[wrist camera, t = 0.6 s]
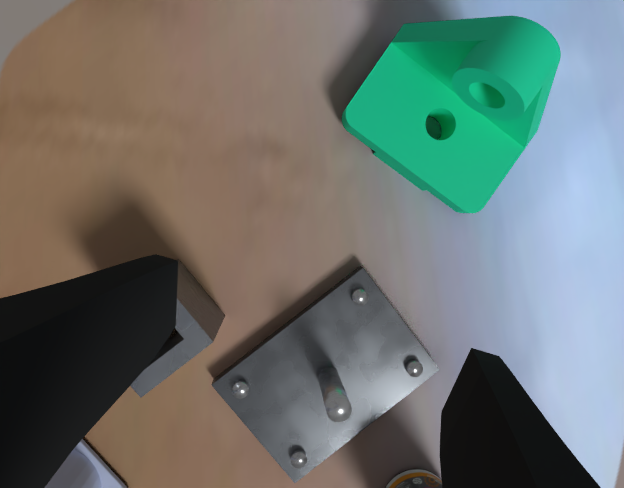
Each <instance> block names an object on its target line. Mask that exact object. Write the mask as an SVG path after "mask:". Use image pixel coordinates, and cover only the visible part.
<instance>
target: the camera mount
mask: <svg viewBox="0 0 624 488" xmlns="http://www.w3.org/2000/svg"><path fill="white" fill-rule="evenodd" d="M560 56H561V53H560V48H559V45H558V43H557V41H556V39H555V38H554V37H553V35H552V34H551V33H550V32H549V31H548V30H547V29H545V28H544V27H543V26H541V25H539V24H538V23H536V22H534V21H532V20H529V19H526V18H523V17H518V16H501V17H488V18H474V19H461V20H447V21H434V22H420V23H407V24H404V25H403V26H402V27H401V29H400V30H399V32H398V33H397V35H396V36H395V37H394V39H393V40H392V42H391V43H390V45H389V46H388V48H387V49H386V51H385V52H384V53H383V55H382V56H381V58H380V59H379V61H378V62H377V64H376V65H375V66H374V68H373V69H372V71H371V72H370V74H369V75H368V77H367V78H366V80H365V81H364V82H363V84H362V85H361V87H360V88H359V90H358V91H357V93H356V94H355V95H354V97H353V98H352V100H351V101H350V103H349V104H348V106H347V107H346V108H345V110H344V112H343V114H342V123H343V126H344V128H345V129H346V130H347V131H348V132H349V133H351V134H352V135H353V136H355V137H356V138H357V139H359V140H360V141H361V142H363V143H364V144H365V145H367V146H368V147H370V148H371V149H372V150H374V151H375V152H374V155H375V156H376V157H378V158H379V159H380V160H382V161H383V162H384V163H386V164H387V165H388V166H390V167H391V168H392V169H394V170H395V171H397V172H398V173H399V174H401V175H402V176H403V177H405V178H406V179H407V180H409V181H410V182H411V183H413V184H414V185H415V186H417V187H418V188H419V189H421V190H422V191H424V190H427V191H429V192H430V193H431V194H433V195H434V196H436V197H437V198H438V199H440V200H441V201H442V202H444V203H445V204H446V205H448V206H449V207H450V208H452V209H453V210H454V211H456V212H459V213H476V212H478V211H480V210H481V209H483V207H484V206H485V205H486V203H487V202H488V200H489V199H490V197H491V196H492V195H493V193H494V192H495V190H496V189H497V188H498V186H499V185H500V183H501V182H502V180H503V179H504V178H505V176H506V175H507V173H508V172H509V170H510V169H511V168H512V166H513V165H514V163H515V162H516V160H517V159H518V158H519V156H520V155H521V153H522V152H523V150H524V149H525V148H526V146H527V145H528V143H529V142H530V140H531V139H532V138H533V136H534V135H535V133H536V132H537V130H538V127H539V124H540V121H541V118H542V115H543V111H544V108H545V105H546V102H547V99H548V96H549V92H550V89H551V86H552V83H553V80H554V77H555V73H556V70H557V67H558V64H559V61H560ZM427 116H430V117H433V118H435V119H436V120H437V121H438V122H439V123H440V126H441V136H440V138H439V140H436V139H434V138H432V137H431V136H430V135H429V134H428V132H427V130H426V125H425V124H426V119H427Z"/></svg>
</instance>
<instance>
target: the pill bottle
mask: <svg viewBox="0 0 624 488" xmlns="http://www.w3.org/2000/svg"><path fill="white" fill-rule="evenodd" d="M386 488H442V480H441V479H440V478H439V477H437V476H436V475H435V474H433V473H431V472H429V471H426V470H419V469H415V470H408V471H405V472H403V473H400V474H399V475H397V476H396V477H394V478H393V479H392V480H391V481H390V482H389V483H388V485H387V486H386Z"/></svg>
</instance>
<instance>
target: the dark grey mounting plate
mask: <svg viewBox="0 0 624 488" xmlns="http://www.w3.org/2000/svg"><path fill="white" fill-rule="evenodd" d="M437 371H439V368H438V367H437V366H436V364H435V363H434V362H433V360H432V359H431V358H430V356H429V355H428V354H427V352H426V351H425V350H424V348H423V347H422V346H421V344H420V343H419V342H418V340H417V339H416V338H415V336H414V335H413V334H412V332H411V331H410V330H409V328H408V327H407V326H406V324H405V323H404V322H403V320H402V319H401V318H400V316H399V315H398V314H397V312H396V311H395V310H394V308H393V307H392V306H391V304H390V303H389V302H388V300H387V299H386V298H385V296H384V295H383V294H382V292H381V291H380V290H379V288H378V287H377V286H376V284H375V283H374V282H373V280H372V279H371V278H370V276H369V275H368V274H367V272H366V271H365V270H364V268H363V267H361V266H360V267H358V268H357V269H356V270H355V271H353V272H352V273H351V274H349V275H348V276H347V277H345V278H344V279H343V280H342V281H340V282H339V283H338V284H336V285H335V286H334V287H333V288H331V289H330V290H329V291H327V292H326V293H325V294H323V295H322V296H321V297H320V298H318V299H317V300H316V301H314V302H313V303H312V304H311V305H309V306H308V307H307V308H305V309H304V310H303V311H301V312H300V313H299V314H298V315H296V316H295V317H294V318H292V319H291V320H290V321H289V322H287V323H286V324H285V325H283V326H282V327H281V328H279V329H278V330H277V331H276V332H274V333H273V334H272V335H270V336H269V337H268V338H267V339H265V340H264V341H263V342H261V343H260V344H259V345H257V346H256V347H255V348H254V349H252V350H251V351H250V352H248V353H247V354H246V355H244V356H243V357H242V358H241V359H239V360H238V361H237V362H235V363H234V364H233V365H232V366H230V367H229V368H228V369H226V370H225V371H224V372H222V373H221V374H220V375H219V376H217V377H216V378H215V379H214V380H213V382H212V386H213V387H214V389H215V390H216V391H217V392H218V393H219V394H220V396H221V397H222V398H223V399H224V400H225V402H226V403H227V404H228V405H229V406H230V407H231V409H232V410H233V411H234V412H235V413H236V414H237V416H238V417H239V418H240V419H241V420H242V422H243V423H244V424H245V425H246V426H247V427H248V429H249V430H250V431H251V432H252V433H253V434H254V436H255V437H256V438H257V439H258V440H259V442H260V443H261V444H262V445H263V446H264V447H265V449H266V450H267V451H268V452H269V453H270V454H271V456H272V457H273V458H274V459H275V460H276V462H277V463H278V464H279V465H280V466H281V467H282V469H283V470H284V471H285V472H286V473H287V474H288V476H289V477H290V478H291V479H292V480H293V482H294V483H296V482H297V481H298V480H299V479H301V478H302V477H303V476H305V475H306V474H307V473H308V472H310V471H311V470H312V469H314V468H315V467H316V466H317V465H319V464H320V463H321V462H322V461H324V460H325V459H326V458H328V457H329V456H330V455H331V454H333V453H334V452H335V451H336V450H338V449H339V448H340V447H342V446H343V445H344V444H345V443H347V442H348V441H349V440H351V439H352V438H353V437H354V436H356V435H357V434H358V433H359V432H361V431H362V430H363V429H365V428H366V427H367V426H368V425H370V424H371V423H372V422H373V421H375V420H376V419H377V418H379V417H380V416H381V415H382V414H384V413H385V412H386V411H388V410H389V409H390V408H391V407H393V406H394V405H395V404H396V403H398V402H399V401H400V400H402V399H403V398H404V397H405V396H407V395H408V394H409V393H410V392H412V391H413V390H414V389H416V388H417V387H418V386H419V385H421V384H422V383H423V382H425V381H426V380H427V379H428V378H430V377H431V376H432V375H433V374H435V373H436V372H437Z"/></svg>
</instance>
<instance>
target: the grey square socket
mask: <svg viewBox="0 0 624 488" xmlns="http://www.w3.org/2000/svg"><path fill="white" fill-rule="evenodd" d="M177 261H178V283H177V309H176V327H175V329H176V330H177V331H178V332H177V333H176V334H174V335H173V336H172V337H170V338H169V337H168V339H167V340H166V342H165V343H164V345H163V346H162V348H161V349H160V350H159V352H158V353H157V355H156V356H155V358H154V359H153V360H152V361H151V362H150V364H149V365H148V366H147V367H146V368H145V369H144V370H143V372H142V373H141V374H140V375H139V376H138V377H137V378H136V379H135V381H134V382H133V383H132V384H131V385H130V386H131V387H132V388H133V389H134V390H135V392H136V393H137V394H138V395H139V396H140V397H142V396H144V395H145V394H146V393H148V392H149V391H150V390H151V389H153V388H154V387H155V386H157V385H158V384H159V383H161V382H162V381H163V380H164V379H166V378H167V377H168V376H170V375H171V374H172V373H174V372H175V371H176V370H177V369H179V368H180V367H181V366H183V365H184V364H185V363H186V362H188V361H189V360H190V359H192V358H193V357H194V356H196V355H197V354H198V353H199V352H201V351H202V350H203V349H205V348H206V347H207V346H209V345H210V344H211V343H212V342H213V341H214V339H215V337H216V335H217V333H218V330H219V328H220V326H221V324H222V322H223V319H224V317H225V315H224V314H223V312H222V311H221V310H220V309H219V308H218V306H217V305H216V304H215V303H214V301H213V300H212V299H211V298H210V297H209V295H208V294H207V293H206V292H205V291H204V289H203V288H202V287H201V286H200V284H199V283H198V282H197V281H196V280H195V278H194V277H193V276H192V275H191V273H190V272H189V271H188V270H187V269H186V267H185V266H184V265H183V264H182V263H181V261H180V260H179V259H178V260H177Z"/></svg>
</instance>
